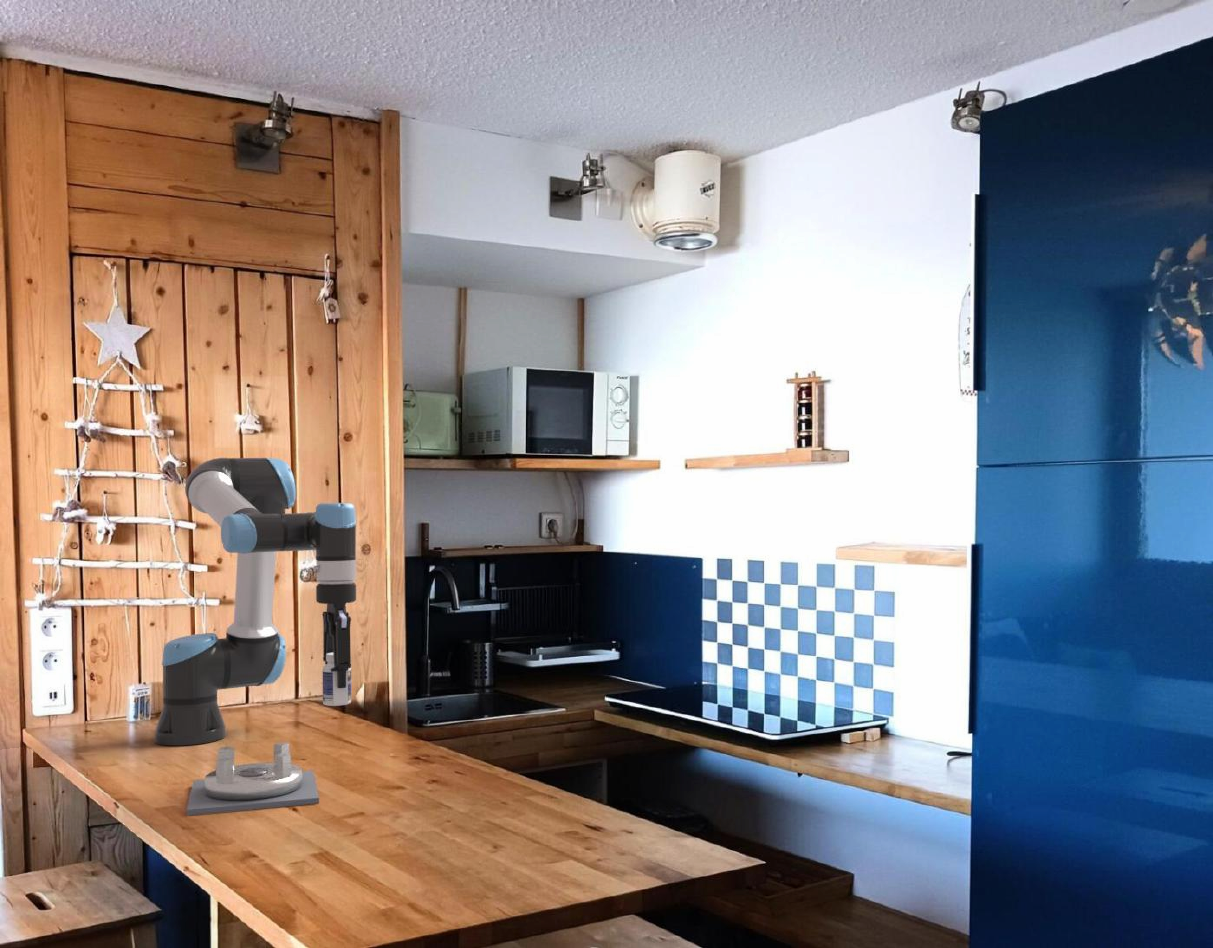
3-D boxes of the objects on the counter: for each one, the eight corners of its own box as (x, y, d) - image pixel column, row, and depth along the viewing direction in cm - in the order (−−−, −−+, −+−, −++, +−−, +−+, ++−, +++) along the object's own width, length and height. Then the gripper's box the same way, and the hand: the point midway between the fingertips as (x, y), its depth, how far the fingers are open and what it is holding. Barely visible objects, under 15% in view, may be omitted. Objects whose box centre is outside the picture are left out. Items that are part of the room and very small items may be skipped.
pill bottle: (346, 706, 210) (346, 655, 210) (319, 706, 210) (318, 655, 211) (354, 701, 215) (354, 651, 216) (327, 701, 216) (327, 651, 216)
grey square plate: (193, 786, 208) (193, 779, 208) (313, 775, 215) (313, 769, 215) (186, 815, 188) (186, 808, 188) (319, 803, 195) (319, 796, 195)
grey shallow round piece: (184, 793, 198) (184, 757, 198) (254, 772, 213) (254, 738, 213) (253, 804, 190) (253, 766, 190) (321, 781, 205) (321, 746, 205)
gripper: (307, 580, 220) (307, 696, 219) (326, 586, 203) (327, 712, 203) (344, 578, 223) (345, 693, 223) (367, 584, 207) (368, 708, 206)
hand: (337, 702), depth 213 cm, fingers closed on pill bottle, 5 cm apart
